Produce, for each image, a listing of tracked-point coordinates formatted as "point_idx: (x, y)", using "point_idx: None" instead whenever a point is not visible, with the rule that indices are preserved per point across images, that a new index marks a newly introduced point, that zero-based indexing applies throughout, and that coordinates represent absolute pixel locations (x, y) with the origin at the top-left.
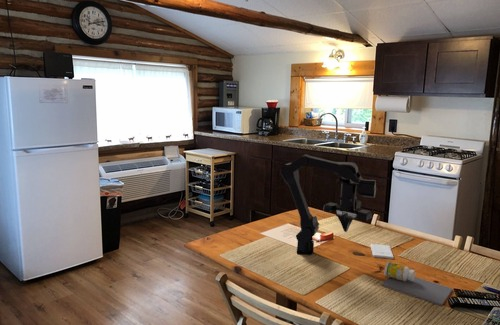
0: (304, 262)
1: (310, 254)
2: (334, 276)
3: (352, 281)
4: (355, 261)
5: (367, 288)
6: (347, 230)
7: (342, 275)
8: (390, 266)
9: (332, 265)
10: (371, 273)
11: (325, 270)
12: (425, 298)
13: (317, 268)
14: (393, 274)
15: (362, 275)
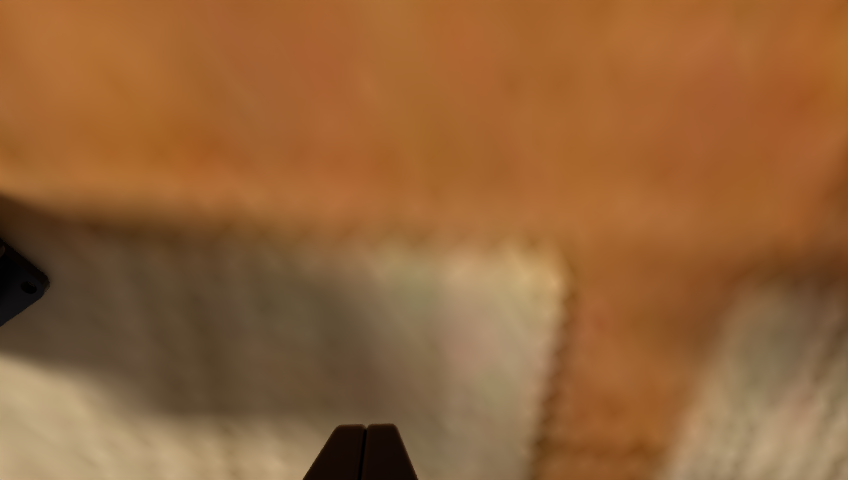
0: (158, 441)
1: (40, 296)
2: (522, 475)
3: (687, 455)
4: (551, 62)
5: (829, 470)
6: (402, 442)
7: (571, 428)
8: None
9: (390, 335)
10: (824, 230)
11: None
12: None
13: None
14: None
15: (740, 324)
